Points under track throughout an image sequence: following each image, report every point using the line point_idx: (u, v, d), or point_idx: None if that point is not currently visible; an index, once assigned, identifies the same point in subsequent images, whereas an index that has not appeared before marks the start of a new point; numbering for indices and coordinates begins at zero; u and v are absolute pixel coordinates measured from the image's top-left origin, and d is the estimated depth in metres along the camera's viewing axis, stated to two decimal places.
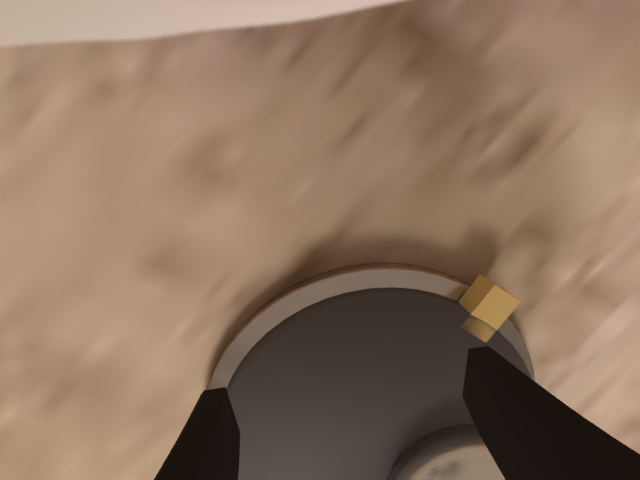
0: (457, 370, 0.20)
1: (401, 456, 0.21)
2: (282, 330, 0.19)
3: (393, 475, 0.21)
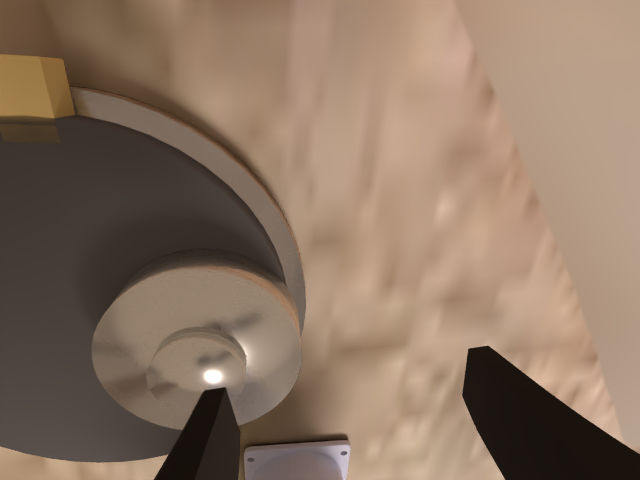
0: (67, 199, 0.14)
1: None
2: None
3: None
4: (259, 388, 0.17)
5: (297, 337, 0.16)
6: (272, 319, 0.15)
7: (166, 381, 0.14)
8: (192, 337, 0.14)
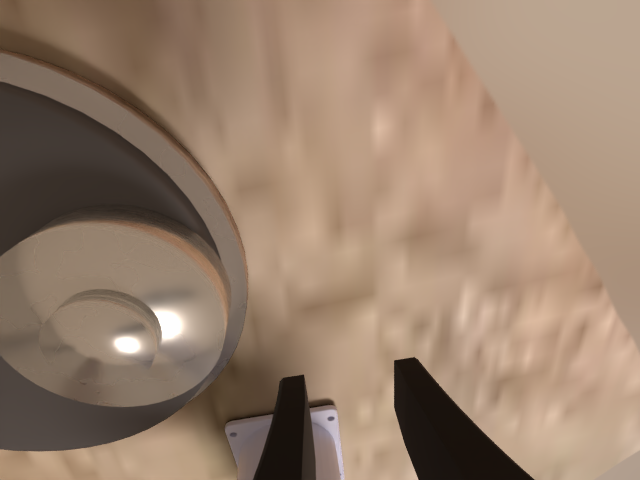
0: None
1: None
2: None
3: None
4: (185, 352, 0.15)
5: (209, 289, 0.14)
6: (172, 271, 0.13)
7: (65, 353, 0.13)
8: (80, 300, 0.13)
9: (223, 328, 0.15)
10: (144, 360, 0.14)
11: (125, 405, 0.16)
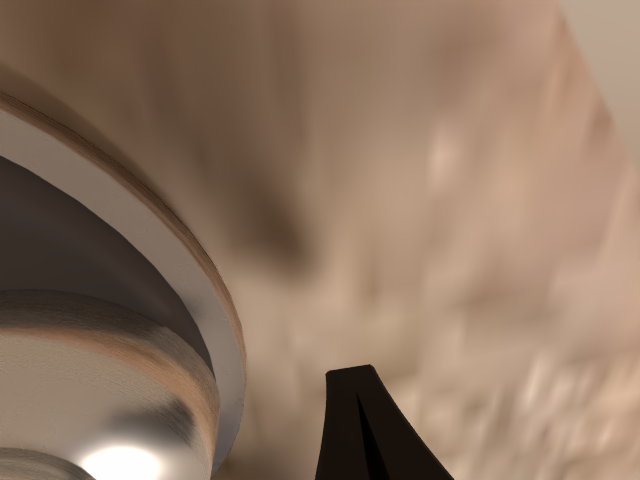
0: None
1: None
2: None
3: None
4: None
5: (178, 438, 0.08)
6: (113, 416, 0.08)
7: None
8: None
9: None
10: None
11: None
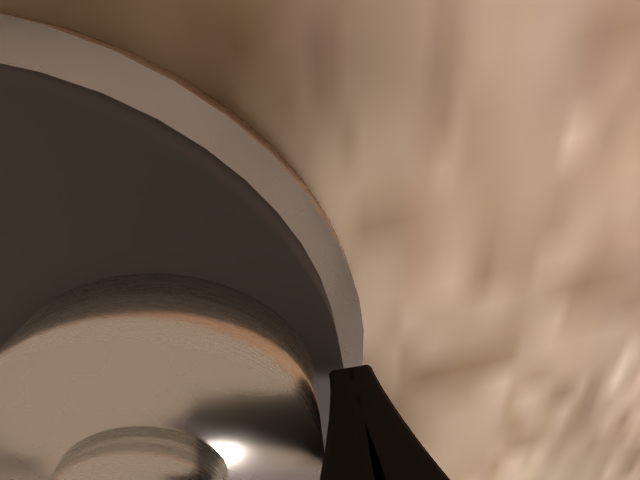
0: None
1: None
2: None
3: None
4: None
5: (309, 418, 0.08)
6: (255, 396, 0.08)
7: None
8: (102, 457, 0.07)
9: None
10: None
11: None
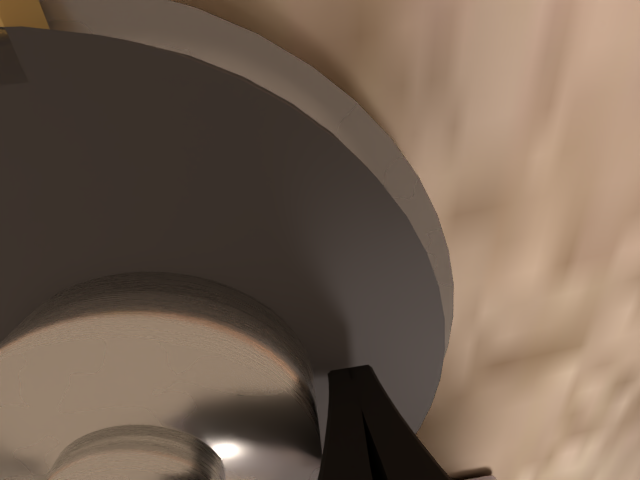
0: (64, 193, 0.08)
1: None
2: None
3: None
4: None
5: (307, 418, 0.08)
6: (253, 395, 0.08)
7: None
8: (99, 456, 0.07)
9: (319, 466, 0.09)
10: None
11: None
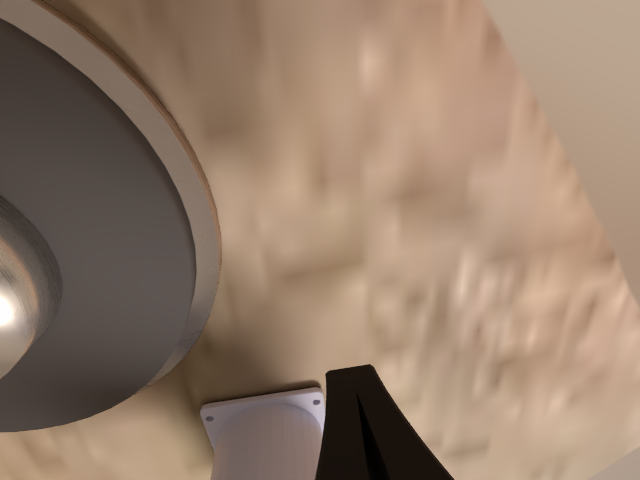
0: None
1: None
2: None
3: None
4: None
5: None
6: None
7: None
8: None
9: (19, 307, 0.12)
10: None
11: None
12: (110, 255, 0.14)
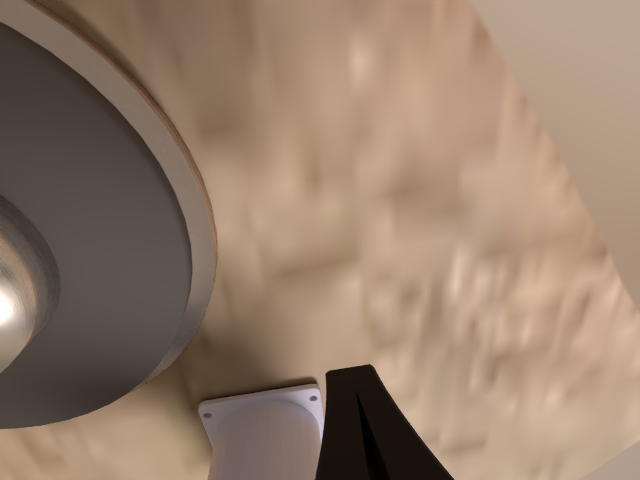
0: None
1: None
2: None
3: None
4: None
5: None
6: None
7: None
8: None
9: (18, 302, 0.12)
10: None
11: None
12: (106, 252, 0.15)
